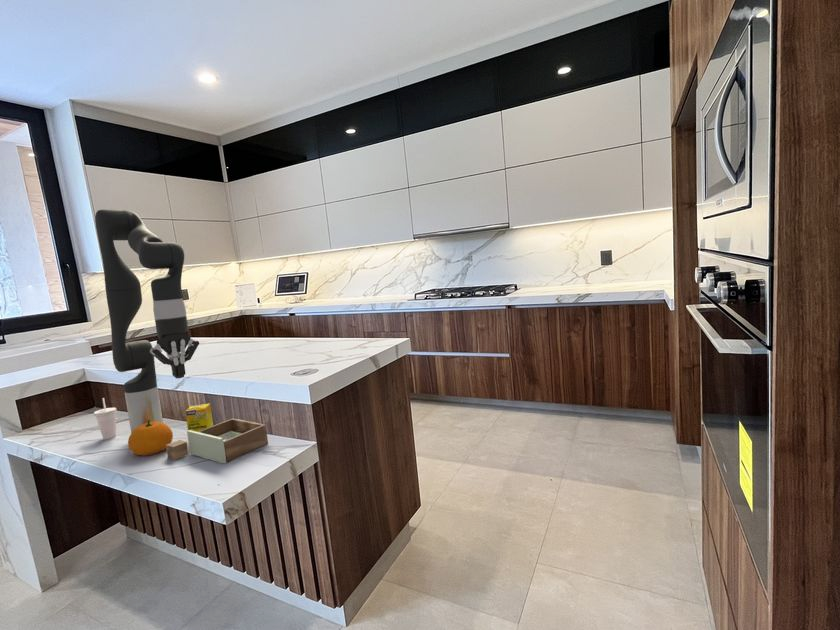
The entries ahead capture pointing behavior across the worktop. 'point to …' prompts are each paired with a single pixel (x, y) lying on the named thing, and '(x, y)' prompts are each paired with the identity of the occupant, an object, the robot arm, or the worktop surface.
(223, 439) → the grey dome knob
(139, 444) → the fruit
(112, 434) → the smoothie
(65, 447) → the worktop surface
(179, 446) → the brown wooden cube
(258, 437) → the cubby
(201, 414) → the supplement box
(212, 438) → the tray
